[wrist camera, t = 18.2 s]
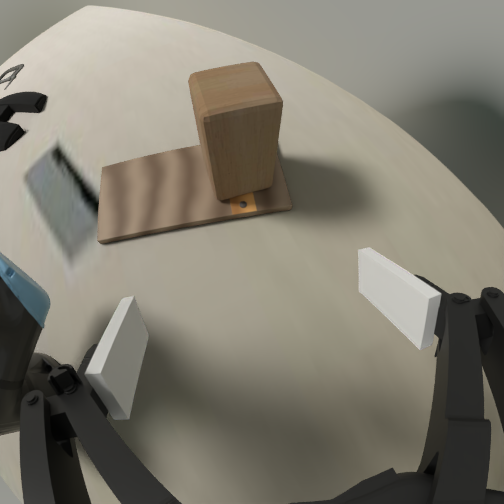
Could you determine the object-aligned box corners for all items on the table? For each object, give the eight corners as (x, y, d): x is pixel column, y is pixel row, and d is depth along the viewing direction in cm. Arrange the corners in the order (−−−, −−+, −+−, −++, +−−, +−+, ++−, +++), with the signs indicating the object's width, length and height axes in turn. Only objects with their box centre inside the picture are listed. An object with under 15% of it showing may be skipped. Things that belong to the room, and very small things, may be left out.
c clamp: (30, 63, 74) (28, 59, 72) (5, 90, 69) (2, 86, 66) (10, 69, 76) (7, 65, 73) (-13, 94, 70) (-15, 91, 68)
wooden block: (203, 159, 51) (186, 71, 32) (255, 146, 52) (259, 58, 33) (216, 204, 48) (200, 117, 29) (273, 189, 49) (286, 100, 30)
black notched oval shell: (4, 96, 67) (-2, 88, 62) (57, 93, 63) (51, 83, 58) (-33, 146, 59) (-40, 139, 54) (9, 157, 55) (0, 147, 51)
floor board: (101, 244, 47) (96, 240, 45) (105, 171, 52) (101, 166, 50) (291, 209, 49) (292, 204, 48) (270, 139, 54) (271, 134, 53)
